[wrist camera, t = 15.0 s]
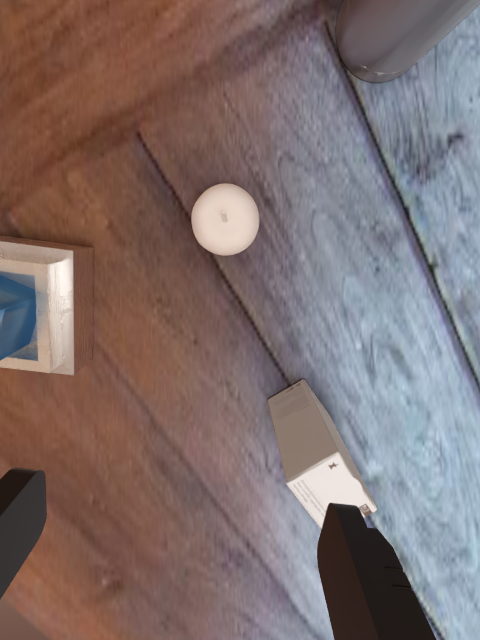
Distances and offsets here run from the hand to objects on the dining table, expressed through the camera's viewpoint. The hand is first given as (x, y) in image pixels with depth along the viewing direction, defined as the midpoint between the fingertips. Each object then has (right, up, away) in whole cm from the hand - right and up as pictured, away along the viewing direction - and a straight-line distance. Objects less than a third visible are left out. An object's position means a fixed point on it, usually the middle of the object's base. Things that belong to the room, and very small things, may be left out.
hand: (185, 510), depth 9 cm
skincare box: (+10, -7, +36) cm, 38 cm away
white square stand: (-23, +8, +31) cm, 40 cm away
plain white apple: (0, +17, +29) cm, 33 cm away
